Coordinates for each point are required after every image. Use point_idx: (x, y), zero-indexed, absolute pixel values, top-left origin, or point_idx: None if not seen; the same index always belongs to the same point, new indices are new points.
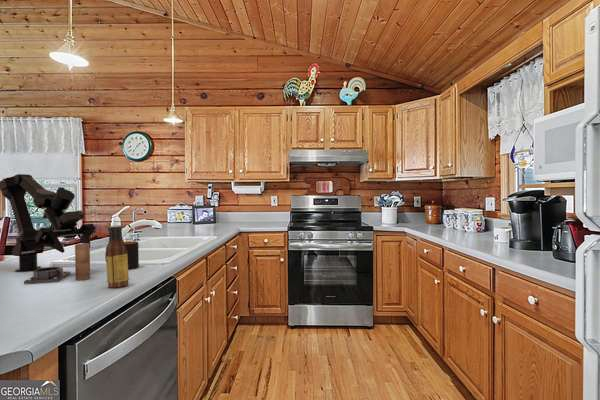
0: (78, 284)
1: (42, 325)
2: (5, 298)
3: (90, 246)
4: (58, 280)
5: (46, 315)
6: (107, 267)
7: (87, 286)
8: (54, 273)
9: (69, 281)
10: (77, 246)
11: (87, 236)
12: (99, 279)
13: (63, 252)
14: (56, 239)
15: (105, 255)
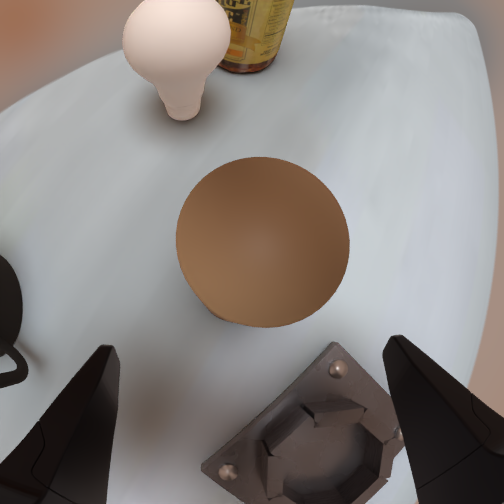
0: None
1: (449, 30)
2: (495, 250)
3: (99, 346)
4: (331, 345)
5: (444, 49)
6: (292, 5)
7: (305, 135)
8: (332, 406)
9: None
10: (337, 219)
11: (37, 465)
12: None
13: (386, 349)
14: (492, 431)
15: (4, 383)
